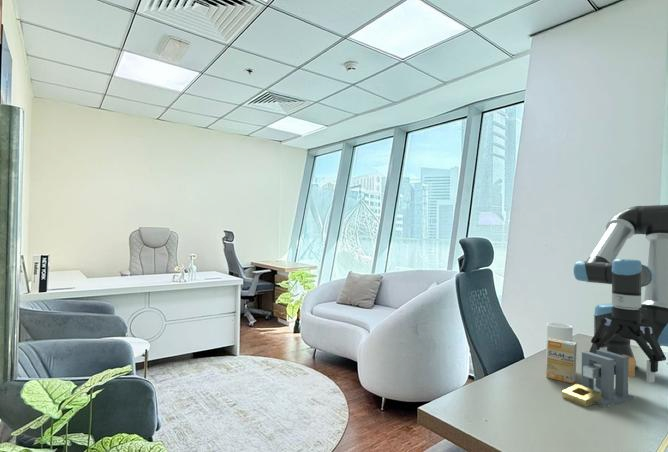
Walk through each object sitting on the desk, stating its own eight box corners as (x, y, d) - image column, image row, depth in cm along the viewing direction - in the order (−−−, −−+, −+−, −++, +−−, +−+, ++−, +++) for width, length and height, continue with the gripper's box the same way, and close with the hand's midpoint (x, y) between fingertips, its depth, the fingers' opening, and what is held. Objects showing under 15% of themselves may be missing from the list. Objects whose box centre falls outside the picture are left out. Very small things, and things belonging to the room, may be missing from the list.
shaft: (623, 373, 122) (623, 354, 122) (634, 376, 119) (634, 357, 119) (582, 380, 114) (582, 360, 114) (593, 384, 111) (593, 364, 111)
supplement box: (545, 378, 129) (546, 339, 130) (548, 374, 133) (549, 337, 133) (574, 384, 124) (574, 344, 124) (576, 380, 128) (576, 342, 128)
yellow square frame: (576, 383, 116) (561, 391, 113) (600, 392, 109) (585, 400, 107) (577, 389, 116) (562, 397, 113) (601, 399, 110) (586, 407, 107)
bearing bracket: (599, 387, 122) (600, 348, 123) (634, 399, 113) (634, 357, 114) (568, 393, 117) (569, 352, 117) (602, 407, 107) (603, 362, 108)
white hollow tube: (575, 373, 135) (576, 328, 135) (550, 371, 136) (551, 326, 137) (566, 365, 143) (567, 323, 143) (542, 363, 144) (543, 321, 145)
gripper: (579, 301, 130) (579, 362, 130) (666, 316, 108) (666, 391, 107) (593, 300, 133) (593, 360, 133) (681, 314, 110) (680, 387, 110)
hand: (625, 374), depth 120 cm, fingers open, 13 cm apart
